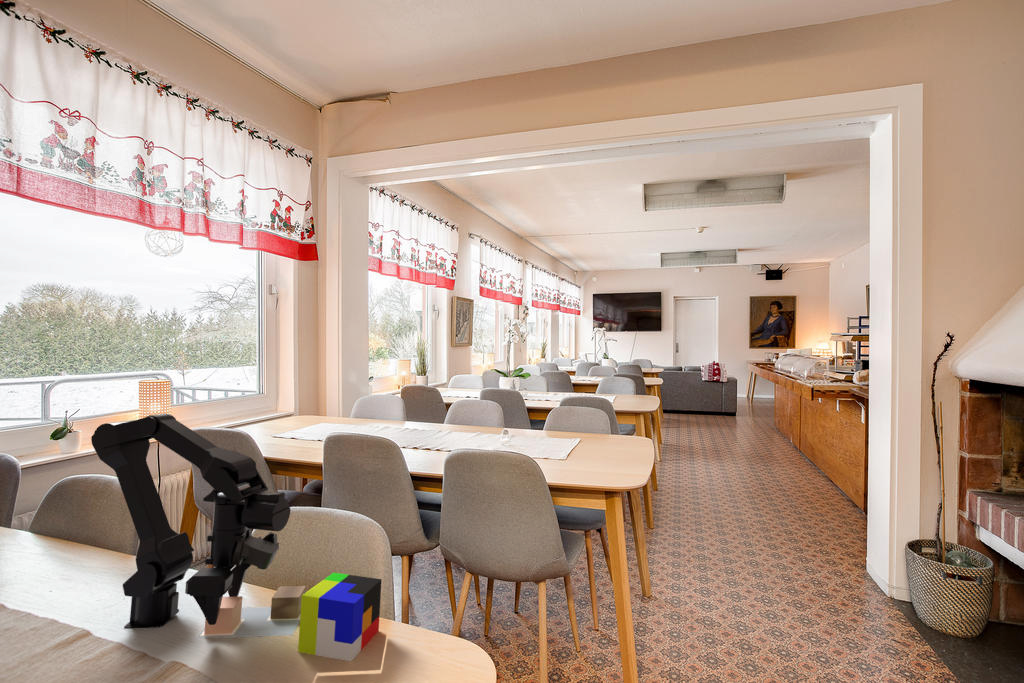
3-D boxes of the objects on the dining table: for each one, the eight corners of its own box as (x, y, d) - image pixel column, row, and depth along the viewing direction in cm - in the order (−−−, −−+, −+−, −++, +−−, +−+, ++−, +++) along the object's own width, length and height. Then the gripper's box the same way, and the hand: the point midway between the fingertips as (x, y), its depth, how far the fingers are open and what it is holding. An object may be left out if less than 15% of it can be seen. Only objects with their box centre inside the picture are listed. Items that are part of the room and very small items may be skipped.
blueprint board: (195, 640, 88) (195, 638, 88) (222, 609, 99) (222, 606, 99) (292, 637, 90) (292, 634, 90) (308, 606, 102) (308, 604, 102)
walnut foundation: (270, 619, 95) (271, 597, 96) (278, 606, 100) (279, 586, 101) (297, 618, 96) (299, 597, 96) (304, 605, 101) (305, 585, 101)
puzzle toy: (350, 664, 83) (354, 603, 84) (297, 654, 85) (301, 595, 86) (378, 633, 93) (381, 579, 94) (330, 625, 95) (333, 572, 96)
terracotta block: (204, 634, 89) (206, 608, 90) (215, 621, 94) (217, 597, 94) (231, 633, 90) (232, 607, 90) (240, 620, 94) (242, 596, 95)
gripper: (258, 543, 85) (251, 637, 84) (290, 511, 103) (284, 588, 102) (187, 544, 83) (179, 639, 82) (232, 511, 102) (226, 589, 101)
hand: (223, 611), depth 92 cm, fingers open, 9 cm apart
